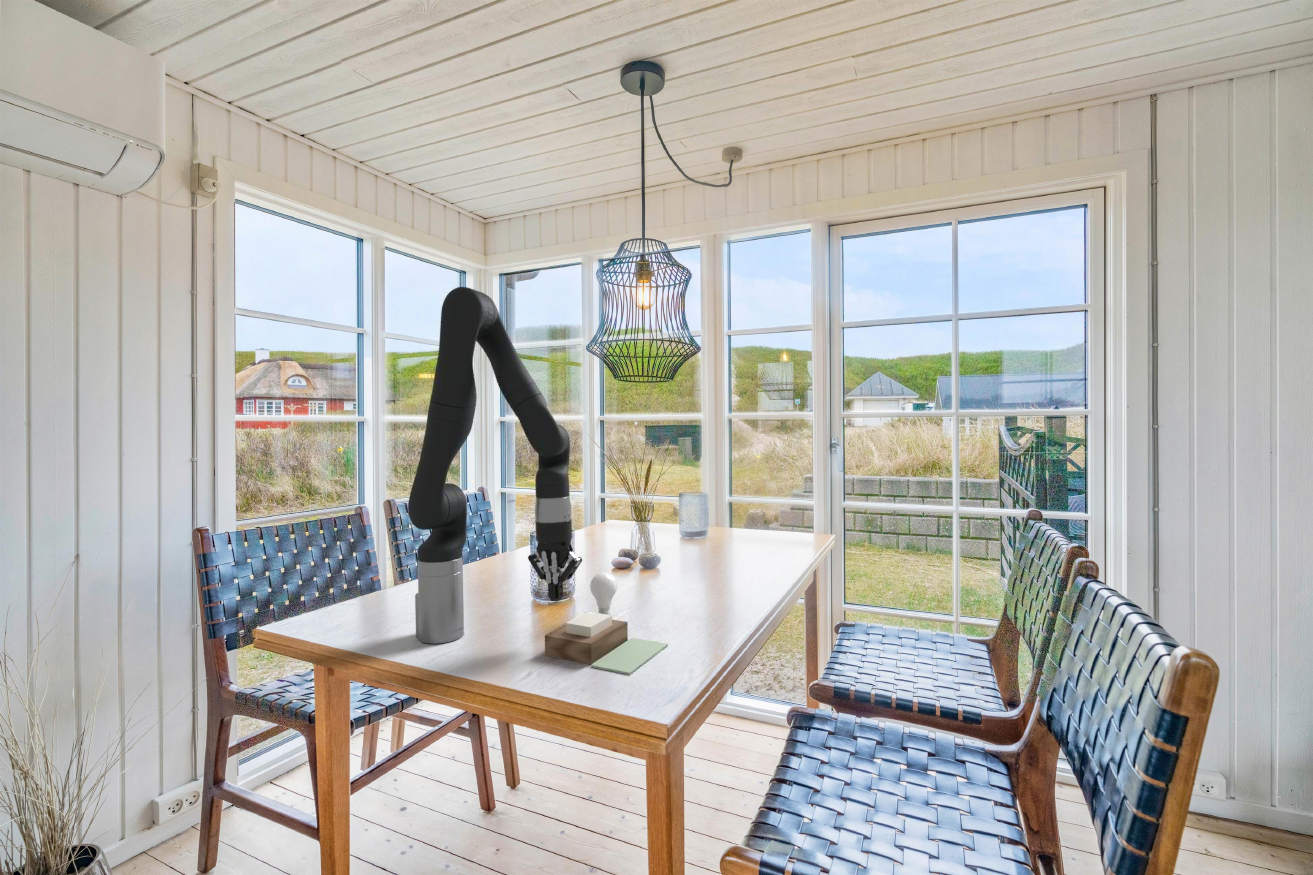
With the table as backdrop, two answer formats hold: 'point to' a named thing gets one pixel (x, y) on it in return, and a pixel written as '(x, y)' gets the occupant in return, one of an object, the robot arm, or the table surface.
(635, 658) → the mat
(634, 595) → the table surface
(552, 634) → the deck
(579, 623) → the white flat block
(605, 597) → the lightbulb
